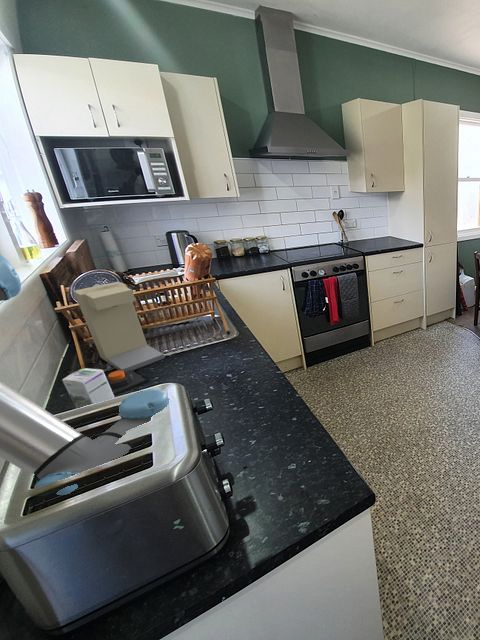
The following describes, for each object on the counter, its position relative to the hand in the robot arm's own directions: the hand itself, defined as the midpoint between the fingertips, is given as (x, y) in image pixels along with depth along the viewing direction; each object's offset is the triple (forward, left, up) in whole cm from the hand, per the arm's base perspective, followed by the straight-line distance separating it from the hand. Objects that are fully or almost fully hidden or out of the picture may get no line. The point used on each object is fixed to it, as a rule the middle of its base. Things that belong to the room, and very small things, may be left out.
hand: (104, 404), depth 87 cm
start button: (+9, +22, -5) cm, 24 cm away
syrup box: (0, +8, -8) cm, 11 cm away
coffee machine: (+18, +37, -8) cm, 42 cm away
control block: (+9, +22, -8) cm, 25 cm away
